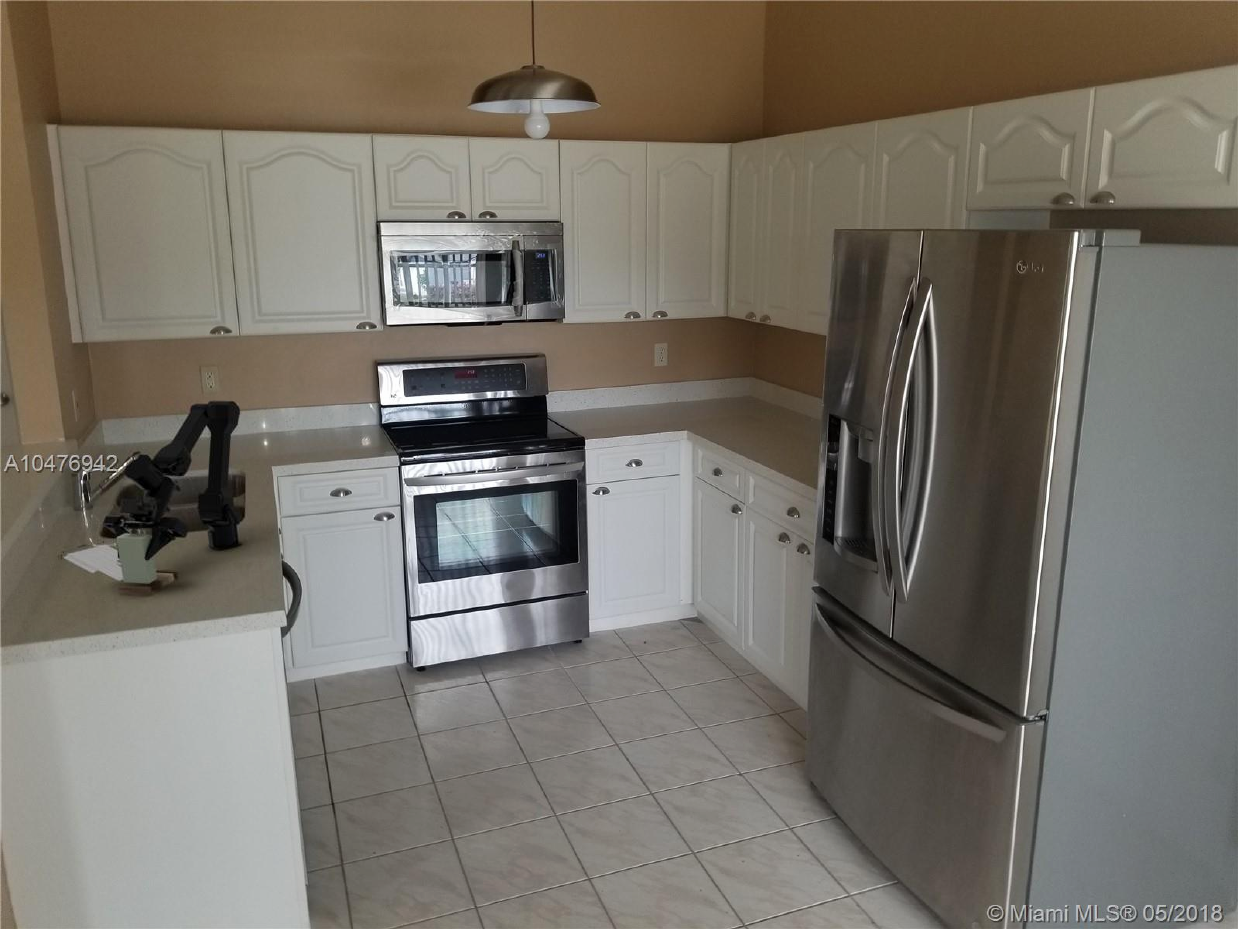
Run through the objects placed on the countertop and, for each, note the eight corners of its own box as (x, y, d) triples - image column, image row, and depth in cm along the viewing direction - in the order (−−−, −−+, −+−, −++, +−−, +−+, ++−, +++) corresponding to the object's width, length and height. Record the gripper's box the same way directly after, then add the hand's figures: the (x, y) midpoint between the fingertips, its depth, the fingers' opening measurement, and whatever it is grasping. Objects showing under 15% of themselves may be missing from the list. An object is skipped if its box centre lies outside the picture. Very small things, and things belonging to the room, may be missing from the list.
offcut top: (149, 575, 224) (149, 572, 224) (173, 576, 223) (173, 573, 223) (138, 581, 220) (138, 578, 220) (163, 582, 219) (162, 579, 219)
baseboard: (108, 589, 221) (158, 575, 230) (106, 578, 221) (157, 564, 230) (57, 562, 240) (105, 549, 249) (55, 551, 240) (104, 539, 249)
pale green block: (132, 577, 218) (125, 533, 215) (157, 578, 217) (150, 534, 214) (123, 582, 215) (116, 537, 212) (148, 583, 214) (141, 538, 211)
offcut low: (150, 578, 224) (149, 575, 224) (174, 579, 223) (173, 576, 223) (139, 584, 220) (138, 581, 220) (163, 586, 219) (163, 582, 219)
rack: (152, 579, 226) (150, 569, 225) (180, 580, 225) (179, 570, 224) (119, 597, 215) (118, 587, 214) (149, 599, 214) (147, 588, 213)
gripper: (101, 482, 216) (74, 542, 208) (173, 484, 213) (149, 546, 205) (129, 504, 225) (104, 562, 217) (198, 507, 222) (176, 566, 214)
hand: (132, 559), depth 213 cm, fingers closed on pale green block, 6 cm apart
